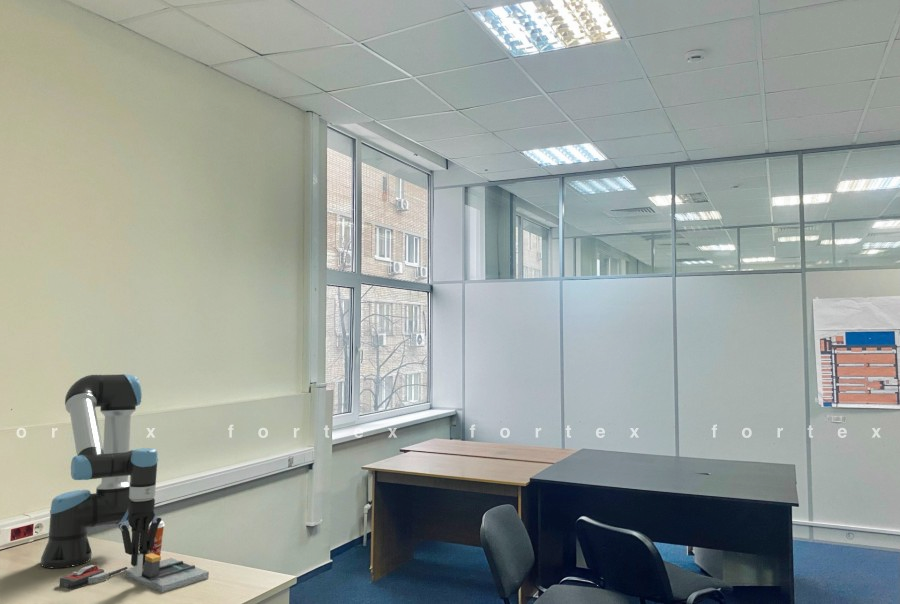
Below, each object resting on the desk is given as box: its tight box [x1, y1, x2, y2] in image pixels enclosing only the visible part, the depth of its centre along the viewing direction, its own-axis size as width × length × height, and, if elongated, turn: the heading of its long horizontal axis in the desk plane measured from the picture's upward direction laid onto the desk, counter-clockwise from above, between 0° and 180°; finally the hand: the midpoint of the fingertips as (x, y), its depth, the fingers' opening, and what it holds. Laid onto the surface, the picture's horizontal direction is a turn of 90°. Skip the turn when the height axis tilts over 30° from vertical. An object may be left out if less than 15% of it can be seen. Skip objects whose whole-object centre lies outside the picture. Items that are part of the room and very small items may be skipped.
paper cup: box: [142, 520, 166, 566], centre depth 217 cm, size 8×8×14 cm
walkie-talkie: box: [58, 564, 129, 590], centre depth 200 cm, size 9×4×20 cm
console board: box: [124, 557, 210, 594], centre depth 203 cm, size 22×16×3 cm
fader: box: [143, 553, 162, 577], centre depth 199 cm, size 5×3×6 cm, turn 55°
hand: (137, 575), depth 195 cm, fingers closed
